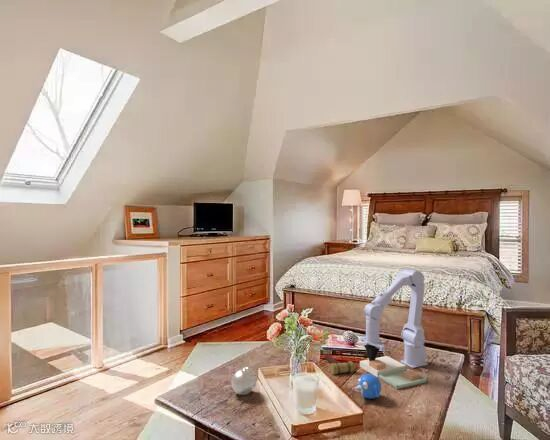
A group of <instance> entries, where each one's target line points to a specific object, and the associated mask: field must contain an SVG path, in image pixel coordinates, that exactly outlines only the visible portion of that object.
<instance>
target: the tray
mask: <svg viewBox="0 0 550 440" xmlns="http://www.w3.org/2000/svg"><path fill="white" fill-rule="evenodd" d="M407 370H410V369H409V368H408V367H406V368H404V369H400V370H395V371H390V372H386V373H381V374H378V377H377V378H378V379H379V380H381V381H383V382H384V383H386V384H388V385H389V386H391V387H393V388H394V389H396V390H401V389H405V388H409V387H414V386H418V385H422V384H425V383H428V378H427V377H425V376H423V375H421V374H420V379H418V380H414V381H410V380H408V379H406V378H404V377H402V372H403V371H407Z"/></svg>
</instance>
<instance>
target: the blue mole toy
mask: <svg viewBox="0 0 550 440" xmlns="http://www.w3.org/2000/svg"><path fill="white" fill-rule="evenodd" d="M351 390H352V391H355V392H356V393H358V394H359V395H361V396H362V397H364V398H366V399H369V400H370V399H376V398H380V396H381V395H380V394H381V391H382V383H381V381H380V379H379V378H378V377H376V376H375V375H373V374H371V373H364V374H362V375H361V376H360V377H359V378H358V379H357V385H356V386H355V387H352V389H351Z"/></svg>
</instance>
